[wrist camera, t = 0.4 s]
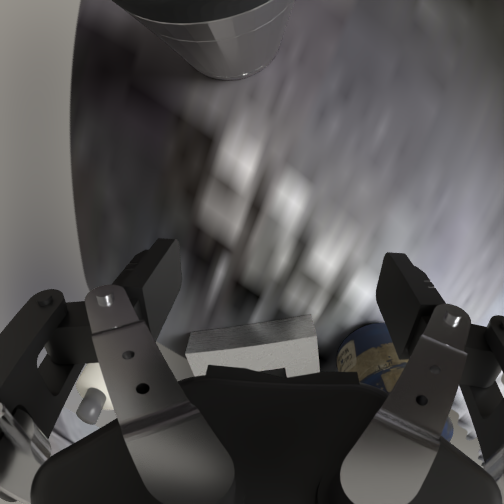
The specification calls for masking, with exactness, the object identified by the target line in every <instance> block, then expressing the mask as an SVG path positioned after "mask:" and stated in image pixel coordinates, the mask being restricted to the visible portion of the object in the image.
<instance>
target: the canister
mask: <svg viewBox="0 0 504 504" xmlns="http://www.w3.org/2000/svg"><path fill="white" fill-rule="evenodd" d="M408 360H409V359H407V360H399V358H398V355H397V353H396V350H395V347H394V345H393V342H392V339H391V337H390V334H389V332H388V329H387V326H386V324H385V323H375V324H370V325H367V326H364V327H362V328H360V329H358V330H356V331H354V332H353V333H352V334H350V335H349V336H348V337H347V338H346V339H345V340H344V341H343V343H342V344H341V346H340V348H339V350H338V353H337V357H336V365H337V369H338V371H339V372H357V373H358V378H359V382H360V383H364V384H368V385H371V386H374V387H377V388H379V389H381V390H383V391H385V392H387V393H388V394H390V392H391V390H392V389H393V387H394V385H395V384H396V382H397V380H398V378H399V377H400V375H401V373H402V371H403V370H404V368H405V366H406V364H407V362H408ZM452 435H453V424H452V422H451V419H450V417H449V415H448V418H447V421H446V423H445V426H444V429H443V431H442V434H441V436H442V437H444V438H445V439H446V440H447V441H449V442H450V440H451V438H452Z"/></svg>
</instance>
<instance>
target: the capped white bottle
mask: <svg viewBox="0 0 504 504" xmlns="http://www.w3.org/2000/svg"><path fill="white" fill-rule="evenodd" d="M76 388H77V391H78V393H79V394H80V395H81V397H82V398H83V400H82V402H81V404H80V406H79V408H78V410H77V412H76V414H77V416H78V417H79V418H80V419H81V420H82V421H83V422H85V423H88V424H92V425H93V424H95V423H96V422H97V419H98V417H99V415H100V413H101V410H102V409H104V410H113V409H114V408H113V405H112V402H111V399H110V396H109V394H108V391H107V388H106V384H105V381H104V378H103V375H102V372H101V368H100V365H99V363H87V365H86V367H85V369H84V370H83V372H82V374H81V375H80V377H79V379H78V381H77V383H76Z"/></svg>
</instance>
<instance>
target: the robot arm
mask: <svg viewBox="0 0 504 504" xmlns="http://www.w3.org/2000/svg"><path fill="white" fill-rule="evenodd" d="M112 1H113V2H115V3H116V4H117V5H119V6H120V7H121V8H123V9H124V10H125V11H127V12H128V13H129V14H130V15H132V16H133V17H134V18H136V19H137V20H138V21H139V22H141V23H142V24H143V25H144V26H146V27H147V28H148V29H150V30H151V31H152V32H153V33H154V34H156V35H157V36H158V37H159V38H160V39H162V40H163V41H164V42H165V43H166V44H168V45H169V46H170V47H171V48H172V49H173V50H175V51H176V52H177V53H178V54H179V55H180V56H181V57H183V58H184V59H185V60H186V61H187V62H188V63H189V64H190V65H191V66H193V67H194V68H195V69H196V70H198V71H199V72H200V73H202V74H204V75H206V76H208V77H212V78H215V79H219V80H238V79H243V78H246V77H250V76H252V75H254V74H256V73H258V72H260V71H261V70H262V69H264V68H265V67H266V66H268V65H269V63H270V62H271V61H272V60H273V59H274V57H275V55H276V53H277V52H278V50H279V47H280V44H281V41H282V38H283V35H284V32H285V29H286V26H287V23H288V20H289V17H290V14H291V11H292V8H293V5H294V2H295V0H112ZM181 283H182V273H181V261H180V249H179V242H178V240H177V239H161V238H159V239H157V240H156V242H155V243H154V244H153V245H152V247H151V248H150V249H149V250H144V251H142V252H140V253H139V254H137V255H135V257H134V258H133V259H132V260H131V261H130V264H128V265H127V266H126V267H125V269H124V270H123V271H122V272H121V274H120V275H119V276H118V277H117V279H116V280H115V281H114V282H113V284H112V285H103V286H99V287H97V288H95V289H93V290H91V291H90V292H89V293H88V294H87V295H86V297H85V301H81V302H68V303H66V302H65V299H64V296H63V293H62V292H61V291H59V290H54V289H49V290H44V291H41V292H39V293H37V294H35V295H34V296H33V297H31V298H30V299H29V301H28V302H27V303H26V304H25V305H24V306H23V307H22V309H21V310H20V311H19V312H18V313H17V314H16V316H15V317H14V318H13V319H12V320H11V321H10V323H9V324H8V325H7V326H6V327H5V329H4V330H3V331H2V332H1V334H0V498H2V499H3V500H5V501H9V502H15V501H19V502H21V503H23V504H504V398H503V396H502V394H501V392H500V389H499V387H498V385H497V383H496V381H495V380H496V378H497V377H498V375H499V373H500V372H501V370H502V371H503V373H504V316H499V315H497V316H493V317H492V318H491V319H490V321H489V324H488V326H487V327H484V326H479V325H474V324H471V319H470V317H469V315H468V314H467V313H466V312H465V311H464V310H462V309H461V308H459V307H457V306H454V305H451V304H446V303H445V301H444V300H443V298H442V297H441V295H440V294H439V293H438V291H437V290H436V288H434V285H433V284H432V282H430V280H429V278H428V277H427V275H426V274H425V273H424V272H423V271H421V270H420V269H419V268H417V267H416V266H414V265H413V264H412V263H411V261H410V260H409V258H408V257H407V256H406V254H404V253H389V252H387V253H386V254H385V256H384V259H383V264H382V268H381V272H380V276H379V280H378V284H377V289H376V301H377V304H378V306H379V309H380V311H381V314H382V316H383V319H384V321H385V324H386V326H387V329H388V332H389V334H390V337H391V339H392V342H393V345H394V347H395V350H396V353H397V355H398V358H399V360H407V359H409V360H408V362H407V364H406V366H405V368H404V370H403V371H402V373H401V375H400V377H399V378H398V380H397V382H396V384H395V385H394V387H393V389H392V390H391V392H390V394H388V393H387V392H385V391H383V390H381V389H379V388H377V387H374V386H371V385H368V384H364V383H360V382H359V378H358V373H357V372H317V373H312V374H306V375H300V376H294V377H287V378H282V377H277V376H273V375H269V374H265V373H262V372H258V371H254V370H250V369H247V368H239V367H228V366H217V365H208V367H207V371H206V375H202V376H195V377H190V378H187V379H183V380H181V381H178V382H177V380H176V378H175V377H174V375H173V373H172V371H171V370H170V368H169V366H168V364H167V363H166V361H165V359H164V357H163V355H162V354H161V352H160V350H159V348H158V346H157V345H156V340H157V338H158V336H159V333H160V331H161V329H162V327H163V325H164V323H165V321H166V318H167V316H168V314H169V312H170V310H171V308H172V306H173V304H174V302H175V299H176V297H177V295H178V293H179V291H180V288H181ZM43 347H45V349H46V351H47V355H46V357H45V358H44V360H43V361H42V363H41V364H40V366H39V368H37V358H38V355H39V353H40V352H41V350H42V349H43ZM85 363H99V365H100V368H101V372H102V375H103V378H104V381H105V384H106V388H107V391H108V394H109V396H110V399H111V402H112V405H113V408H114V411H115V413H116V416H117V418H116V419H115V420H113V421H112V422H110V423H108V424H106V425H105V426H103V427H102V428H100V429H98V430H96V431H95V432H93V433H91V434H90V435H88V436H86V437H84V438H83V439H81V440H79V441H77V442H76V443H74V444H72V445H70V446H69V447H67V448H65V449H63V450H61V451H60V452H58V453H56V454H54V455H53V456H51V445H50V442H49V440H48V438H49V436H50V434H51V432H52V430H53V427H54V425H55V423H56V421H57V419H58V417H59V414H60V412H61V410H62V408H63V406H64V404H65V402H66V400H67V398H68V396H69V394H70V392H71V390H72V388H73V386H74V384H75V382H76V380H77V378H78V376H79V374H80V372H81V370H82V368H83V367H84V365H85ZM458 386H460V388H461V391H462V394H463V396H464V399H465V402H466V405H467V407H468V410H469V413H470V416H471V419H472V422H473V425H474V428H475V431H476V434H477V437H478V441H479V444H480V447H481V451H482V454H483V458H484V461H485V465H484V468H482V467H481V466H479V465H478V464H477V463H475V462H474V461H473V460H471V459H470V458H469V457H468V456H466V455H465V454H464V453H463V452H461V451H460V450H459V449H457V448H456V447H455V446H454V445H452V444H451V443H450V442H449V441H447V440H446V439H445V438H444V437H442V436H441V434H442V431H443V429H444V426H445V423H446V421H447V418H448V415H449V413H450V410H451V407H452V404H453V401H454V398H455V395H456V392H457V389H458ZM50 456H51V457H50Z"/></svg>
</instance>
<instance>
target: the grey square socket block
mask: <svg viewBox="0 0 504 504" xmlns="http://www.w3.org/2000/svg"><path fill="white" fill-rule="evenodd" d="M185 355H186V357H187V360H188V362H189V365H190V367H191V370H192V372H193V374H194V377H195V376H202V375H206V371H207V367H208V365H217V366H228V367H239V368H247V369H250V370H254V371H265V370H272V369H279V368H285V369H286V375H287V377H294V376H300V375H306V374H312V373H317V372H320V367H319V355H318V344H317V335H316V331H315V327H314V324H313V320H312V316H311V314H310V315H304V316H299V317H293V318H287V319H281V320H275V321H268V322H262V323H255V324H249V325H242V326H235V327H227V328H220V329H212V330H204V331H196V332H191V334H190V338H189V341H188V345H187V348H186V352H185Z"/></svg>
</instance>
